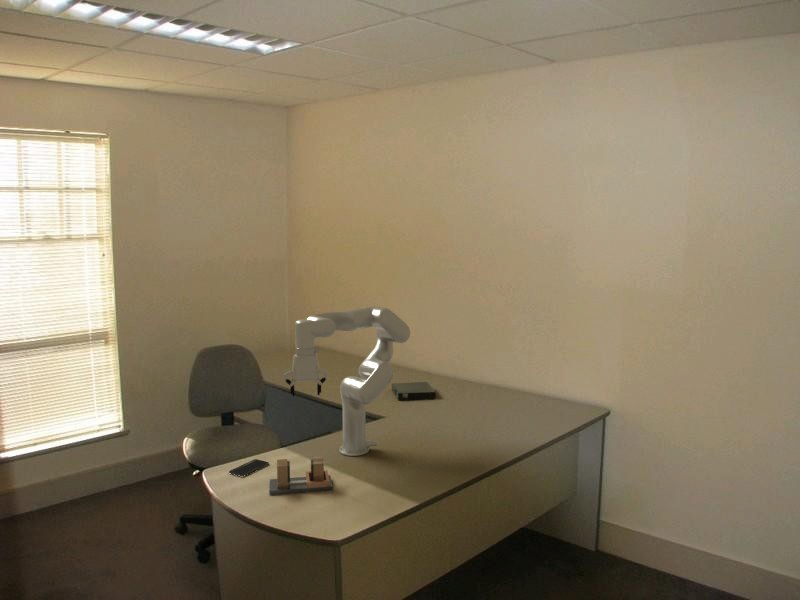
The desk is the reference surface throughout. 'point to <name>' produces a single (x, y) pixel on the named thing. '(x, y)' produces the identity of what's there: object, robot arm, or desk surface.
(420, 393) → the network switch
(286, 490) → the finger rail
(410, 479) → the desk surface
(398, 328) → the robot arm
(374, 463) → the desk surface
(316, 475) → the small cardboard box
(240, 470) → the phone
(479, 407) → the desk surface
